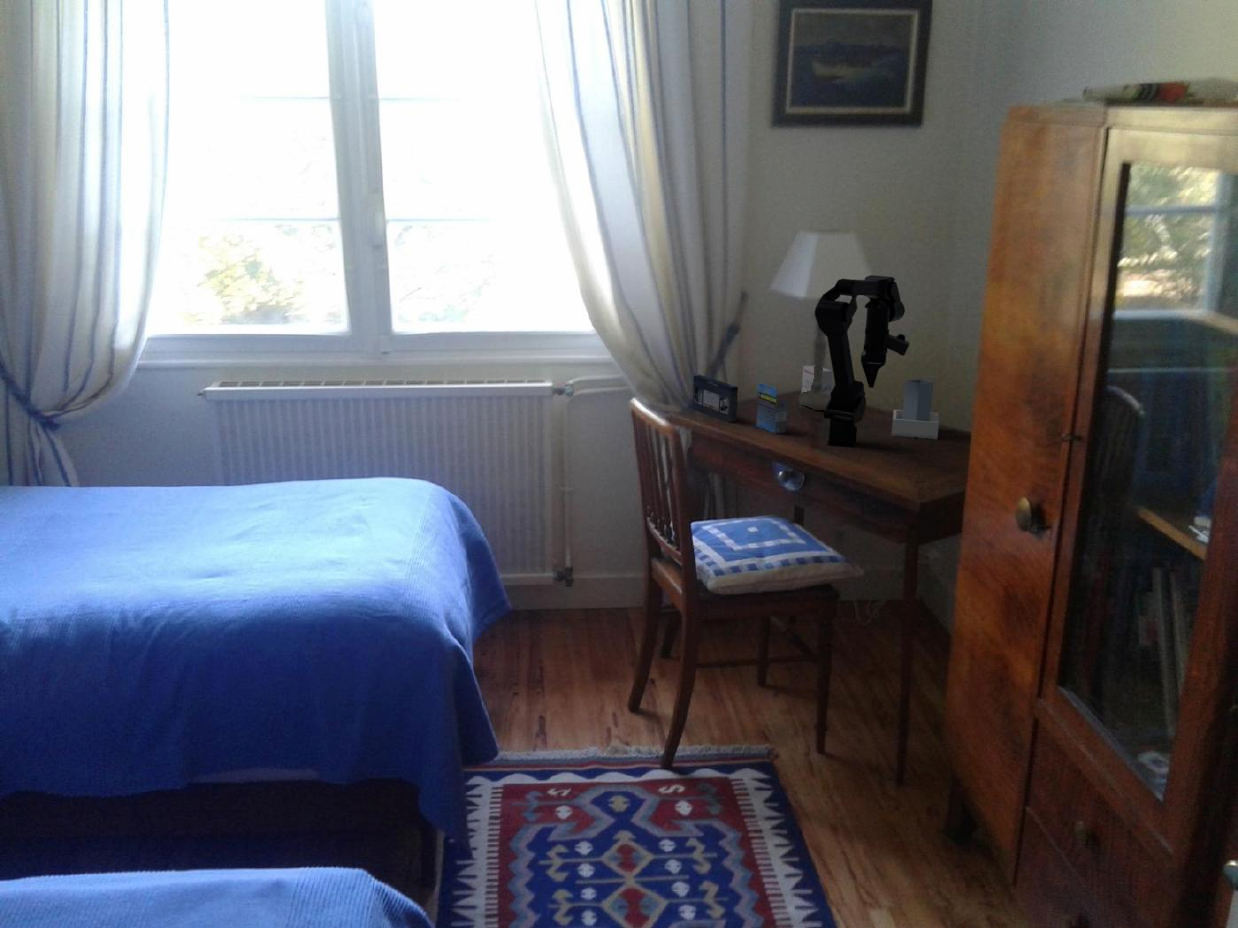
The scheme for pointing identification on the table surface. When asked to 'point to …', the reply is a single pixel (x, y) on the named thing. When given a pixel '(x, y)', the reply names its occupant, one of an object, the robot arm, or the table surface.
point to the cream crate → (915, 426)
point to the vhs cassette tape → (715, 398)
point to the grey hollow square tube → (917, 400)
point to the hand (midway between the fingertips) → (871, 384)
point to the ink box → (809, 376)
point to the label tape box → (771, 410)
